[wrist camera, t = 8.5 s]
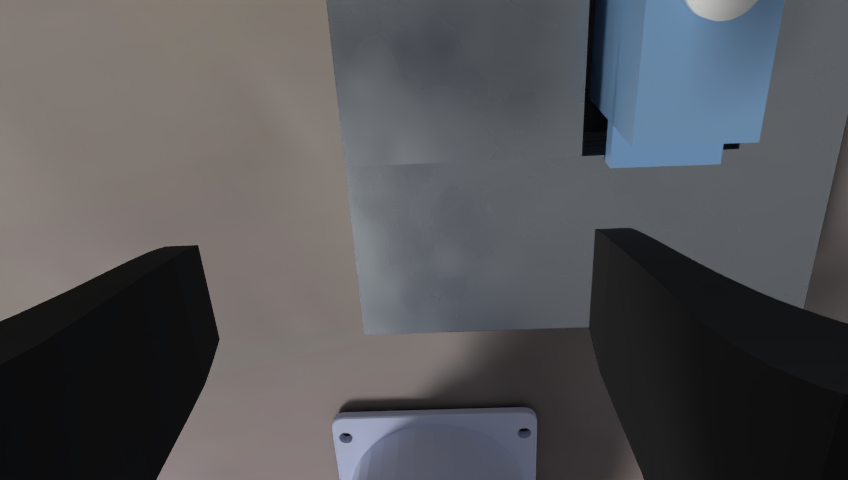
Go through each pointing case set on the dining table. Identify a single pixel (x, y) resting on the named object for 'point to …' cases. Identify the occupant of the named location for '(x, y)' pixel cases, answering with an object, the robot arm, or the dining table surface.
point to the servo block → (681, 77)
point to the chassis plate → (555, 164)
